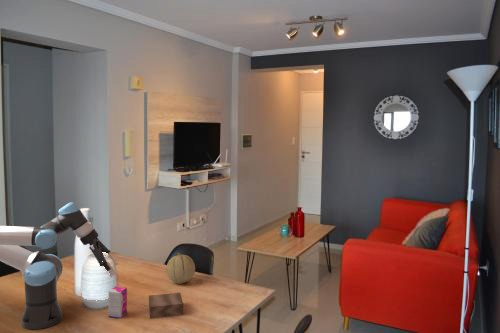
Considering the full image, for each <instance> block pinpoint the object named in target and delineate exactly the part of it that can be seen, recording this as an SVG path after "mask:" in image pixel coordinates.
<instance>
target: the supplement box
mask: <svg viewBox="0 0 500 333" xmlns="http://www.w3.org/2000/svg"><path fill="white" fill-rule="evenodd" d="M126 314H128V288H127V287H124V286H123V287H121V286H114V287H113V288H111V289H110V290H109V291H108V318H111V319H122V317H124V316H125V315H126Z"/></svg>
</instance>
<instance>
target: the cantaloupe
mask: <svg viewBox="0 0 500 333" xmlns="http://www.w3.org/2000/svg"><path fill="white" fill-rule="evenodd" d="M166 274H167V276H168V278H169V280H170V281H171V282H173V283H175V284H178V285H179V284H180V285H183V284H185V283H188V282H190V281H191V280H192V279H193V277H194V276H195V274H196V266H195V261H194V260H193V259H192V257H191V256H189V255H186V254H181V253H180V252H178V253H176V255H174V256H172V257H171V258H170V259H169V261H168V262H167V265H166Z"/></svg>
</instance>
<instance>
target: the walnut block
mask: <svg viewBox="0 0 500 333" xmlns="http://www.w3.org/2000/svg"><path fill="white" fill-rule="evenodd" d="M148 310H149V311H148V313H149V319H157V318H165V317H175V316H182V315H184V302H183V298H182V294H181V292H174V293H161V294H151V295H148Z"/></svg>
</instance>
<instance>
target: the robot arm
mask: <svg viewBox="0 0 500 333" xmlns="http://www.w3.org/2000/svg"><path fill="white" fill-rule="evenodd" d="M69 229H71V230H72V232H73V233H74V234H75V236H76V237H77V238H78V239H79V240H80V243H82V245H83V246H87V245H89V250H90V251H91V253H92V254H93V256H94V257H95V259H96V261H97V263H98V264H99V265H100V266H102V267H103V266H104V267H105V269H106V270H107V271H109V273H110V275H109V276H110V278H112V277H113V276H115V275H116V274H117V272H116V270H115V269H114V267H116V266H117V265H118V262H117V261H116V259H115V258H114V257H113V255H112V254H111V253H112V252H111V250H110V249H108V247H106V245H105V244H104V243H102V241H101V240H100V239H99V238H98V237H99V233H98V232H97V231H96V229H95V228H94V227H93V225H92V222H89V220H88V219H87V217H86V215H84V213H83V212H82V211H81V209H80V208H79V207H78V206H77V204H76V203H75V202H73V201H71V202H68V203H67V204H65V205H64V206H62V207H60V209H58V215H57V216H55V217H53V218H52V219H50V220H49V221H47V222H46V223H45V224H42V225H41V226H39V227H38V226H17V225H16V226H15V225H12V226H11V225H0V262H2V263H4V264H5V265H7V266H10V267H12V268H14V269H16V270H19V271H20V272H21V275H22V276H23V280H24V295H25V297H24V298H25V299H24V300H25V307H24V310H23V313H22V317H21V326H22V328H24V329H27V330H41V329H46V328H50V327H52V326H55V325H57V324H59V322H61V321H62V320H63V311H62V308H61V306H60V304H59V301H58V289H57V288H58V286H57V283H58V282H59V279H60V277H61V275H62V274H63V262H62V259H60V258H59V256H57V255H55V254H52V253H47V254H46V253H43V252H41V251H39V250H37V251H34V252H33V251H30V250H29V249H26V248H24V247H25V246H26V247H27V246H28V247H29V246H30V247H38V248H39V249H42V250H47V249H51V248H52V247H53V246H54V245H56V243H57V241H58V239H59V237H60V236H61V235H62V234H64V233H65V232H66V231H67V232H68V230H69ZM22 246H24V247H22ZM102 252H106V253H108V255H109V257H110V258H111V259H112V260H113V262H114V265H115V266H114V267H112V266H111V265H110V263H109V262H108V261H107V260H106V258H105V257H104V255H103V253H102ZM102 261H103V262H102ZM100 266H99V267H100ZM105 269H104V270H105ZM106 270H105V271H106ZM107 271H106V272H107Z"/></svg>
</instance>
